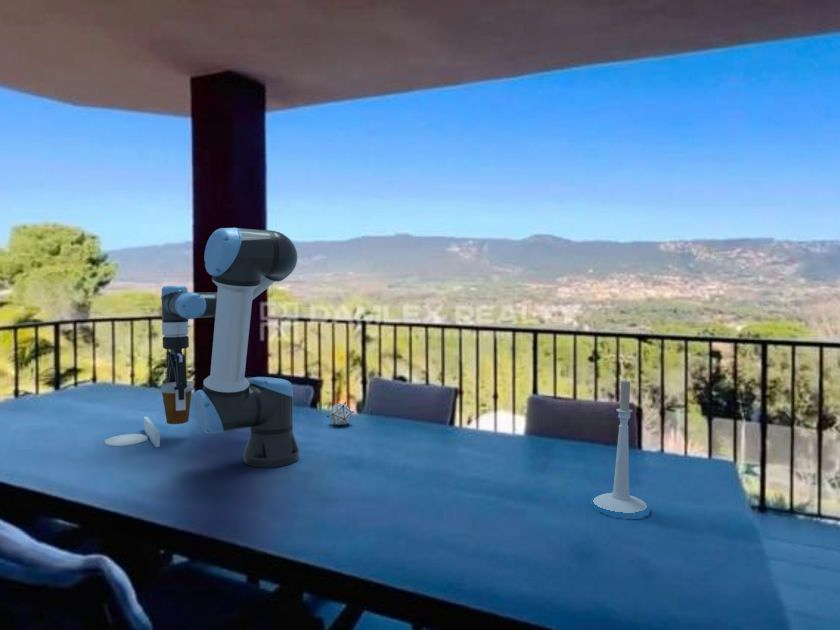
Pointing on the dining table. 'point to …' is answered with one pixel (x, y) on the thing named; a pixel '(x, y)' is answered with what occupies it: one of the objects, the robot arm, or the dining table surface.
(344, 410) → the game die
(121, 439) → the coaster
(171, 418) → the disposable coffee cup
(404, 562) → the dining table surface
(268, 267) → the robot arm
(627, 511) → the candlestick
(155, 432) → the wall
